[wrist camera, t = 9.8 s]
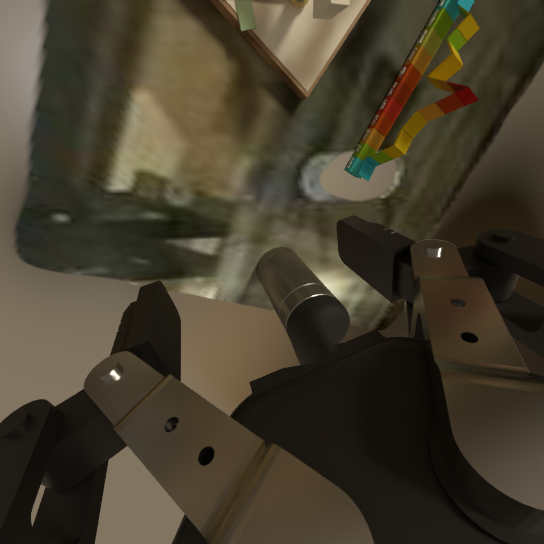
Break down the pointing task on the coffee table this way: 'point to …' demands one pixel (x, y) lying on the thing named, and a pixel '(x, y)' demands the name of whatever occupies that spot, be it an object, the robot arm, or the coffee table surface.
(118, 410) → the robot arm
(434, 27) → the chart
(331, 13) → the wooden mallet
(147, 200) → the coffee table surface
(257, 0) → the desk tray with supplies
